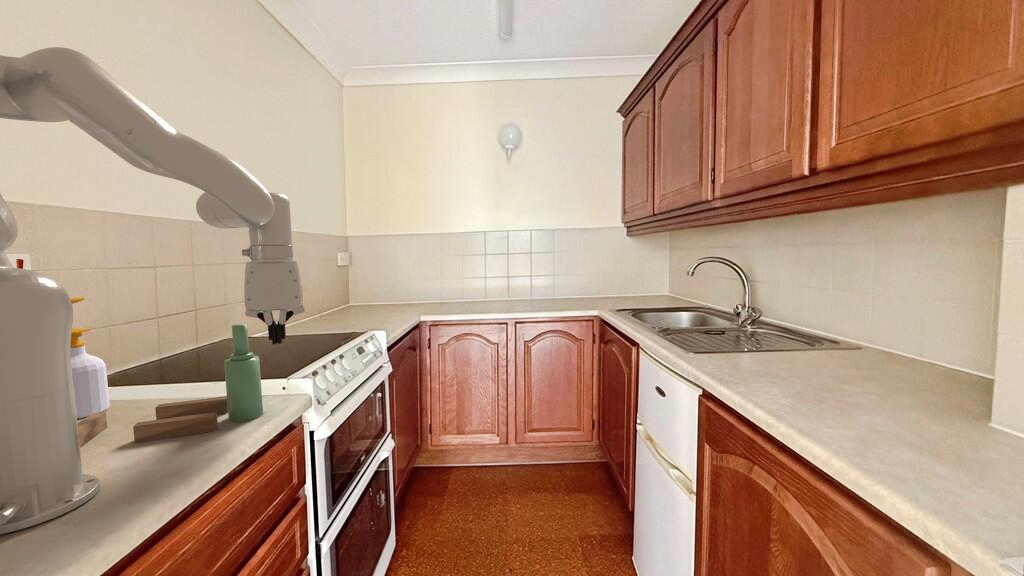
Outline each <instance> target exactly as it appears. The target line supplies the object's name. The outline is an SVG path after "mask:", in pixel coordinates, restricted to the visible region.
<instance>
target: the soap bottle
mask: <svg viewBox="0 0 1024 576" xmlns="http://www.w3.org/2000/svg"><path fill="white" fill-rule="evenodd" d="M70 299H71V303H72V305H73V304H77V303H79V302H82V301H85V299H86V298H85V297H75V298H70ZM87 332H91V328H74V327H72V333H71V368H72V379H73V385H74V395H75V404H76V414H77V420H78V419H83V418H84V419H85V418H87V417H88V416H90V415H91V414H96V413H104V412H105V411H107V410H108V409H109V408H110V406H111V405H110V395H109V394H110V393H109V383H108V374H107V364H106V363H105V361H104V360H103V359H102V358H100V357H98V356H95V355H91V354H88V353H87V352H86V344H85V342H80V340H79V339H80V338H79V337H82V336H83V333H87Z"/></svg>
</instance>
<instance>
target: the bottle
mask: <svg viewBox="0 0 1024 576" xmlns="http://www.w3.org/2000/svg"><path fill="white" fill-rule="evenodd" d="M231 336H232V348H233V353H231V354H229V358H227V359H224V361H223V365H224V375H225V377H224V378H225V380H224V381H225V390H226V396H227V405H228V413H227V415H228V416H227V418H228V421H229V422H231V423H244V422H249V421H253V420H255V419H258V418H260V417H262V416H263V415H264V407H263V393H262V390H263V389H262V377H261V364H260V363H261V362H260V355H255V354H254V352H253V351H250V348H249V347H250V346H249V345H250V344H249V332H248V323H237V324H232V325H231Z"/></svg>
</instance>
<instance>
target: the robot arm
mask: <svg viewBox="0 0 1024 576" xmlns="http://www.w3.org/2000/svg"><path fill="white" fill-rule="evenodd" d="M0 119H5V120H12V121H13V120H15V121H25V122H26V121H27V122H28V121H29V122H40V123H62V122H66V121H69V122H70V123H71V124H73V125H75V126H76V127H77V128H79V129H80V130H82V131H83V132H85V133H86V134H87V135H89V136H90V137H92V139H94V140H96V141H98V142H99V143H100V144H101V145H103V146H104V147H106V148H107V149H108V150H110V151H111V152H112V153H114V154H115V155H116V156H118V157H119V158H120V159H122V160H124V161H125V162H126V163H127V164H129V165H131V166H132V167H134V168H136V169H138V170H141V171H144V172H147V173H149V174H153V175H155V176H156V175H157V176H160V177H164V178H169V179H173V180H176V181H179V182H182V183H185V184H188V185H190V186H193V187H194V188H197V189H198V190H199V189H200V190H201V191H203V193H202V194H200V196H199V197H198V198H197V200H196V203H195V209H196V214H197V215H198V216H199V218H200V219H201V220H202V221H203V222H204V223H205V224H207V225H209V226H211V227H214V228H218V229H225V230H226V229H238V228H248V236H249V237H248V238H249V247H248V248H246V249H244V248H243V249H242V248H241V255H242V257H249V259H250V261H246V263H245V268H244V282H243V283H244V284H243V285H244V289H243V290H244V292H243V293H244V294H243V295H244V307H245V312H244V313H245V314H244V315H245V316H246V317H250V318H254V319H255V318H256V319H259V320H260V321H262V322H263V323H265V325H266V326H267V332H268V333H267V334H268V340H269V341H271V343H272V344H271V345H282V343H283V341H284V340H286V338H287V336H286V335H287V333H286V332H287V331H286V323H287V322H288V321H289V320H290V319H291V318H292V317H293V316H297V315H301V314H303V313H305V310H306V309H305V306H304V304H303V285H302V280H301V274H300V268H299V264H298V262H297V260H294V251H293V237H292V235H293V234H292V233H293V232H292V221H291V219H292V218H291V217H292V216H291V203H290V199H289V198H288V196H286V195H285V194H282V193H278V192H269V191H268V190H267V189H266V188H265V187H264V185H263V184H261V182H259V181H258V180H257V178H255V176H253V175H252V174H251V173H249V172H248V171H247V170H246V169H245V168H243V167H242V166H241V165H240V164H239V163H237V162H236V161H235V160H232V159H231V158H230V157H228V156H226V155H225V154H223V153H221V152H219V151H217V150H215V149H213V148H212V147H210V146H207V145H206V144H204V143H202V142H200V141H198V140H197V139H194V138H192V137H190V136H188V135H186V134H183V133H182V132H180V131H178V130H177V129H175V128H174V127H173V126H171V125H170V124H169V123H168V122H167V121H166V120H164V118H162V117H161V116H160V115H158V113H156V112H155V111H154V110H153V109H151V108H150V107H149V106H147V104H146V103H144V101H142V100H140V99H139V98H138V97H137V96H136V95H135V94H134V93H132V92H131V91H130V90H129V89H128V88H126V87H125V86H124V85H123V83H121V82H120V81H118V80H117V79H116V78H115V77H113V75H111V74H110V73H109V72H108V71H107V70H105V69H104V68H103V67H101V65H99V63H96V62H95V61H94V60H92V58H90V57H89V56H87V55H85V54H83V53H82V52H80V51H77V50H74V49H71V48H67V47H60V46H52V47H46V48H41V49H37V50H35V51H32V52H30V53H27V54H25V55H22V56H21V57H15V56H9V55H8V56H7V55H6V56H5V55H1V54H0ZM18 234H19V226H18V223H17V219H16V217H15V216H14V214H13V212H12V210H11V208H10V207H9V205H8V203H7V202H6V200H5V198H4V197H3V196H2V194H1V193H0V535H3V534H4V535H5V534H9V533H11V532H12V533H13V532H16V531H20V530H24V529H27V528H30V527H33V526H36V525H39V524H42V523H45V522H47V521H50V520H52V519H56V518H57V517H59V516H62V515H64V514H66V513H69V512H70V511H73V510H74V509H77V508H78V507H80V506H82V505H83V504H85V503H86V502H88V501H90V499H92V498H93V497H94V496H95V495H96V494H97V493H98V492H99V489H100V479H99V477H97V476H95V475H93V474H86V473H83V464H82V463H83V462H82V453H81V448H80V443H79V433H78V419H77V414H76V404H75V395H74V385H73V379H72V368H71V333H72V328H73V323H74V322H73V321H74V311H73V310H74V308H73V304H72V303H71V299H72V298H71V297H70V295H69V294H68V292H67V290H66V289H65V288H64V286H63V285H61V284H60V283H59V282H57V281H56V280H55V279H54V278H53V277H50V276H48V275H47V274H44V273H41V272H39V271H36V270H32V269H26V268H25V269H24V268H21V267H20V268H18V267H14V266H13V264H12V262H11V261H10V258H9V257H8V256H7V254H6V251H7V250H9V249H10V248H11V247H12V245H14V243H15V241H16V240H17V238H18ZM274 311H279V316H278V321H277V322H276V320H275V318H274V315H273V314H274V313H273V312H274Z"/></svg>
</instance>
